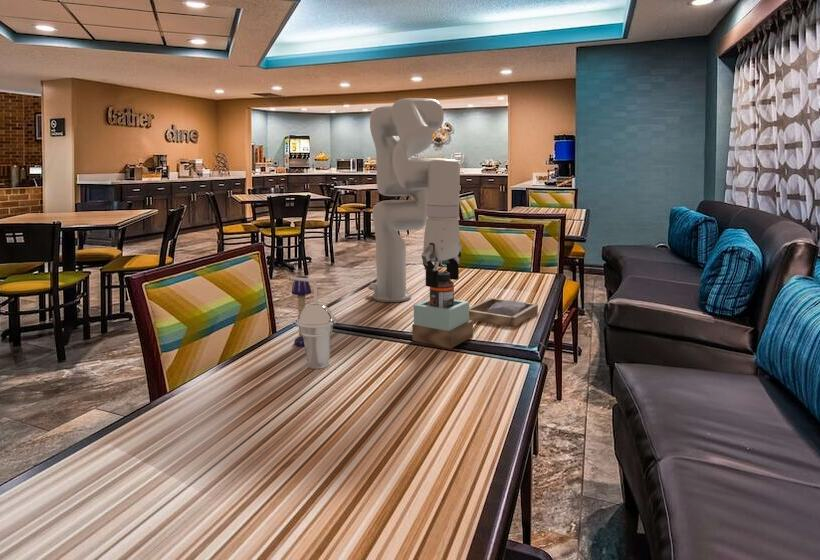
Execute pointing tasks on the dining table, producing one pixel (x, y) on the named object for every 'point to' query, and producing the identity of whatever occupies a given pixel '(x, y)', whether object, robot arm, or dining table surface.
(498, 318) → the frame
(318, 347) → the cup with straw
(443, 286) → the supplement bottle
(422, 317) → the tower top
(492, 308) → the stone block
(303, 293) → the toy lamp
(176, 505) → the dining table surface
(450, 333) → the tower base
